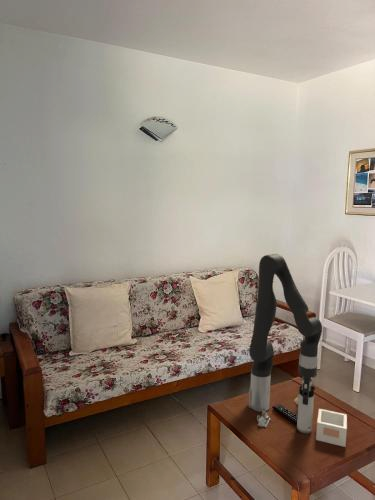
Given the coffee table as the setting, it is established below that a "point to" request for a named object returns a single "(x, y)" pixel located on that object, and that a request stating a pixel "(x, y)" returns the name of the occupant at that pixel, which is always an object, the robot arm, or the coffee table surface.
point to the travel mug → (305, 412)
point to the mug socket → (332, 427)
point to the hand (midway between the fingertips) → (306, 399)
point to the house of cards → (263, 419)
